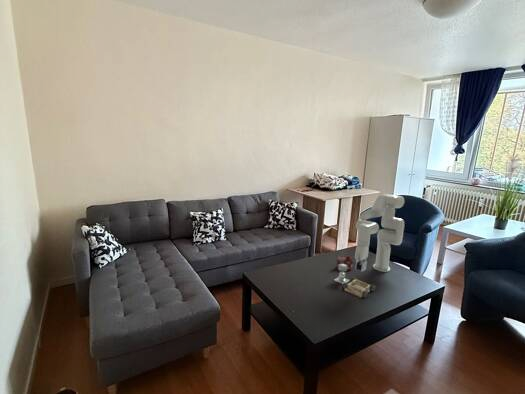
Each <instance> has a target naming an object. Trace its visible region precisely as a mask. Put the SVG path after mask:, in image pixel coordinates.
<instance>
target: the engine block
mask: <svg viewBox="0 0 525 394" xmlns="http://www.w3.org/2000/svg"><path fill="white" fill-rule="evenodd" d="M359 262H360V261H359ZM367 264H368V261H367V260H366V261H364V260H362V263H361V265H362V267H361V271H360V270H358V271H360V272H364V271H366V270H367ZM356 266H357V264H356V263H355V268H354V270H357V269H356Z"/></svg>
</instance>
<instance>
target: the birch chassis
mask: <svg viewBox="0 0 525 394" xmlns="http://www.w3.org/2000/svg"><path fill="white" fill-rule="evenodd" d="M342 288H343V289H344V291H345V292H347V293H350V294H352V295H354V296H355V297H359V298H361V299H362V298H365V299H366V298H367V297H368V295H369V292H370V291H371V292H375V291H376V285H374V284H369V283H366V282H364V281H361V280H359V279H357V278H356V277H354V276H352V277H351V278H350V282H347V283H345V282H344V283H343V284H342Z"/></svg>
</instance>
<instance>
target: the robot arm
mask: <svg viewBox="0 0 525 394" xmlns="http://www.w3.org/2000/svg"><path fill="white" fill-rule="evenodd" d="M404 204H405V198H404V196H401V195H397V194H388V193H380V194H379V195H378V196H377V198H376V199H375V201H374V203H373V205H372V207H371V208H369V209H367V210H366V211H364V212H362V213H361V214H360V215H359V217H358V219H357V221H356V224H355V228H356V230H357V239H356V247H355V252H354V253H355V254H354V259H355V268H356V269H355V270H358V271H359V270H360V272H362V271H361V267H362V265H361V263H362V260H364V261H367V259H368V257H369V250H370V249H369V248H370V241H371V235H374V234H377V235H376V236H377V246H376V247H377V248H376V255H375V257H376V258H375V263H373V265H372V267H373V269H374V270H376V271H378V272H382V273H383V272H384V273H386V272H387V273H388V272H390V271H391V267H390V266H389V264H390V258H391V257H390V256H391V249H392V248H391V245H394V246H400V245H401V244H403V243H402V242H403V239H404V238H403V237H404V231H405V220H404V219H402V218H399V217H395V214H396V209H401V208H402V207H403V206H404ZM380 217H381V221H380V222H381V223H380V224H381V227H382V228H384V229H380V225H379V224H378V223H377V222H374V221H370V220H369V219H372V218H373V219H374V218H380ZM359 261H360V262H359ZM356 264H357V266H356Z"/></svg>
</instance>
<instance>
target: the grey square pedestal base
mask: <svg viewBox="0 0 525 394" xmlns="http://www.w3.org/2000/svg"><path fill="white" fill-rule="evenodd" d="M333 281H334V282H336V283H338V284H340V285H343V283H344V282H345V283H350V282H351V279H348V278H346V271H339V275H338V277H336V278H334V279H333Z"/></svg>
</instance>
